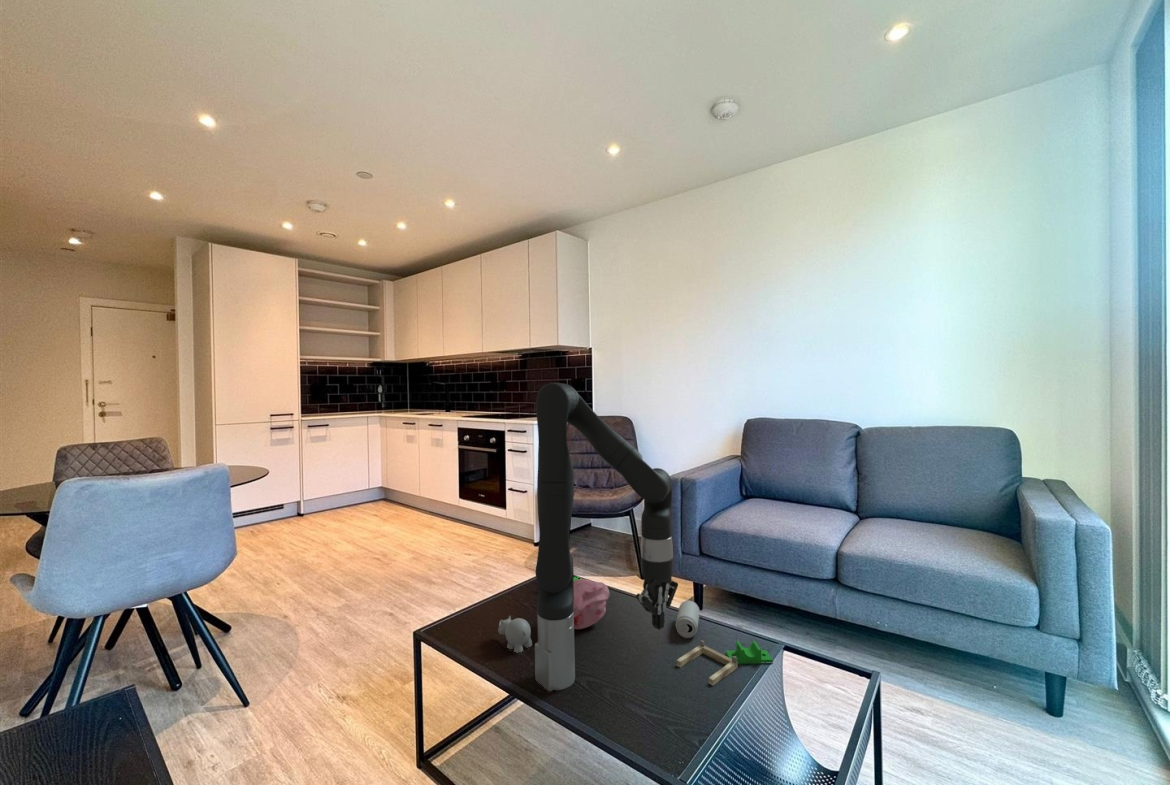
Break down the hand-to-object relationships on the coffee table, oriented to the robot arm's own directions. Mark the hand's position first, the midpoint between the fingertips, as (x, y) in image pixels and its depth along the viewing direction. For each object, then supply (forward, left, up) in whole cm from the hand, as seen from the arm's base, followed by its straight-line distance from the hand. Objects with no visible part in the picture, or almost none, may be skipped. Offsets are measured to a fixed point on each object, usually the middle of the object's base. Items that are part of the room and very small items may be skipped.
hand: (658, 627), depth 107 cm
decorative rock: (+8, +39, -18) cm, 44 cm away
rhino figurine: (-14, +44, -18) cm, 49 cm away
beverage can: (+37, +19, -15) cm, 44 cm away
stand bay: (+19, 0, -18) cm, 26 cm away
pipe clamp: (+32, -1, -15) cm, 35 cm away
